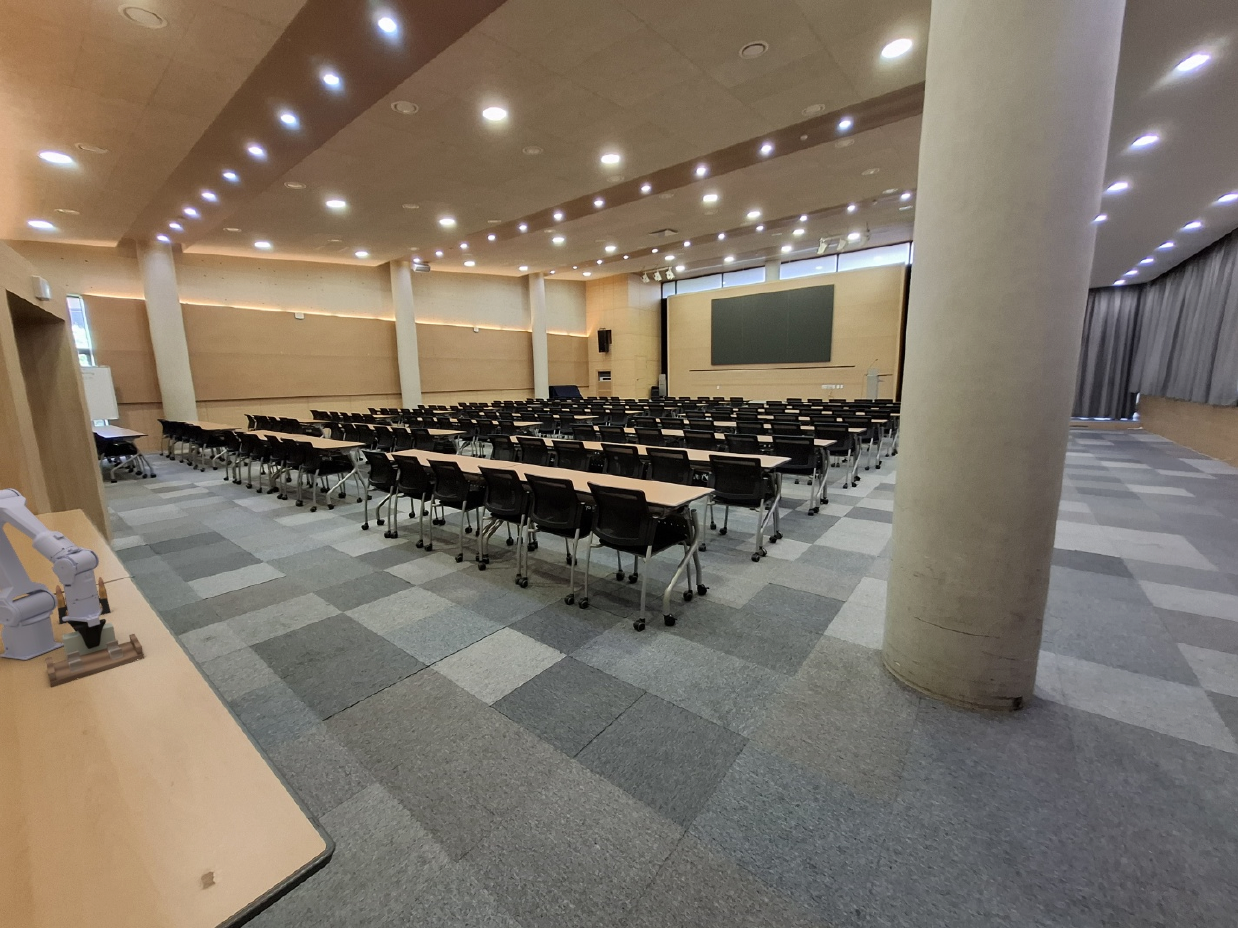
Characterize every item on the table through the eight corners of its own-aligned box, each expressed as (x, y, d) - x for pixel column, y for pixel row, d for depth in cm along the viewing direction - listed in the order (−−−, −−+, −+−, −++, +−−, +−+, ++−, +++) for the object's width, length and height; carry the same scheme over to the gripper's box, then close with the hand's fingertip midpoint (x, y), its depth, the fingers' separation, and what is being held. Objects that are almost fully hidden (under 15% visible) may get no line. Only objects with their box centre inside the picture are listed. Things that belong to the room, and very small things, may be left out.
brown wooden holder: (47, 669, 123) (45, 656, 122) (135, 643, 135) (133, 631, 135) (51, 687, 116) (48, 673, 115) (144, 658, 128) (142, 645, 128)
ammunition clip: (59, 624, 147) (52, 586, 146) (60, 622, 149) (53, 584, 147) (110, 612, 155) (104, 576, 153) (110, 611, 156) (104, 575, 154)
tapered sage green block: (66, 656, 129) (62, 634, 128) (114, 642, 136) (110, 622, 136) (67, 661, 127) (63, 639, 126) (116, 646, 134) (113, 626, 133)
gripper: (51, 596, 130) (60, 644, 132) (67, 608, 122) (77, 658, 124) (89, 587, 136) (98, 633, 138) (107, 598, 128) (115, 646, 130)
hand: (90, 644), depth 131 cm, fingers closed on tapered sage green block, 4 cm apart
